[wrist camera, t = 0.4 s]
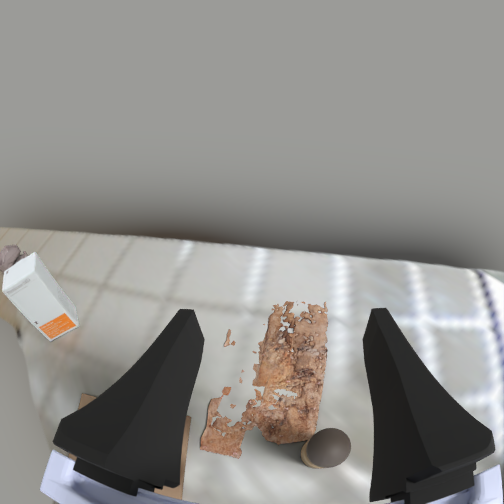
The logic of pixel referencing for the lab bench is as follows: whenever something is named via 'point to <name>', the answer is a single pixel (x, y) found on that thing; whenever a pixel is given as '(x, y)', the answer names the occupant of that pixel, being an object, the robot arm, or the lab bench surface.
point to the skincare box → (39, 297)
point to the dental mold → (10, 257)
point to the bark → (279, 384)
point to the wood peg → (326, 449)
